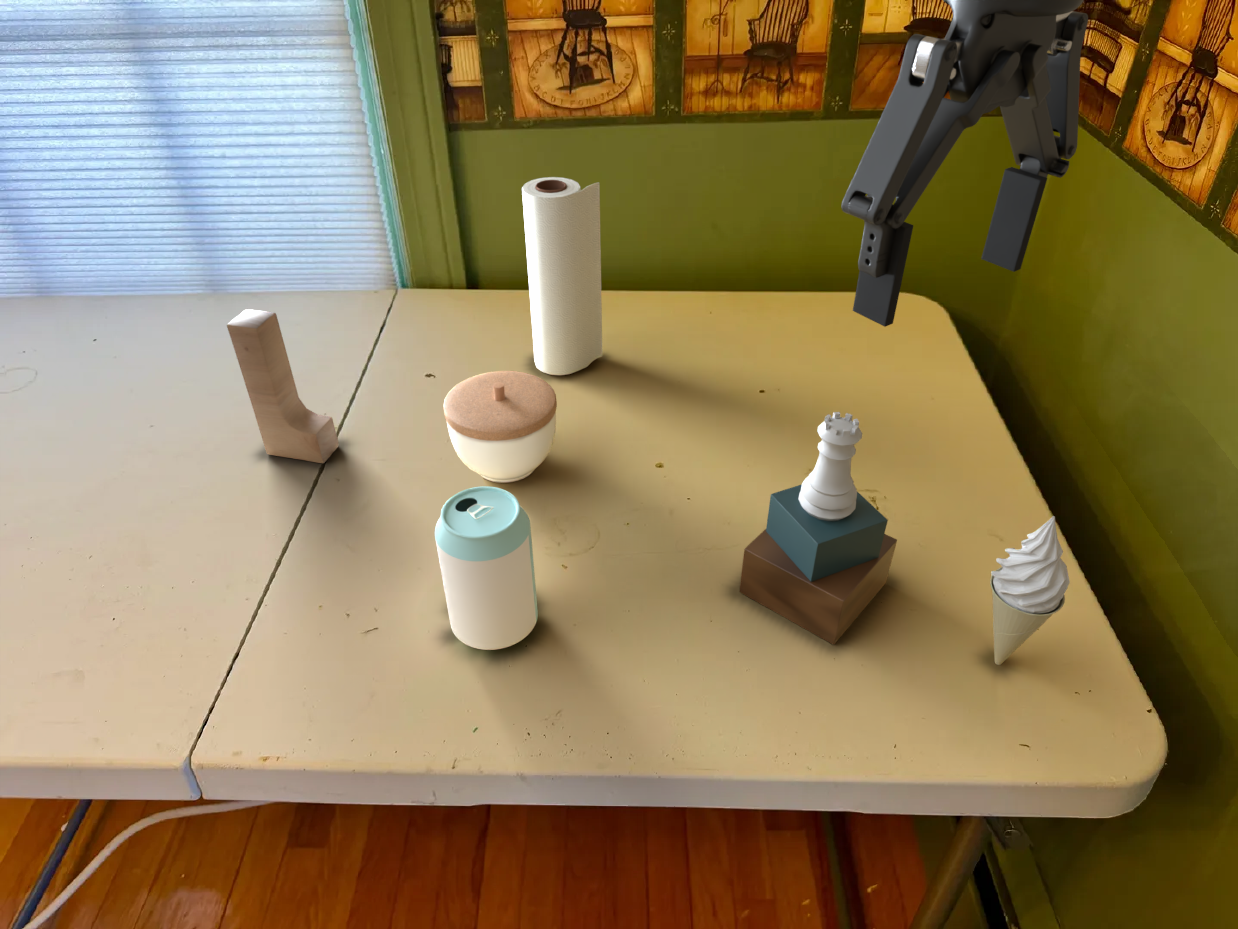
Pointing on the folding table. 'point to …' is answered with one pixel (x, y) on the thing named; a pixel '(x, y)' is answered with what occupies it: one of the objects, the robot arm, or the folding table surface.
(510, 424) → the trinket box
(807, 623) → the base block
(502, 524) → the can
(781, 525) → the top block
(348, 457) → the folding table surface
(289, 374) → the wooden block
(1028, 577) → the ice cream cone
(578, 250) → the paper towel roll
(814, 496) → the rook chess piece
